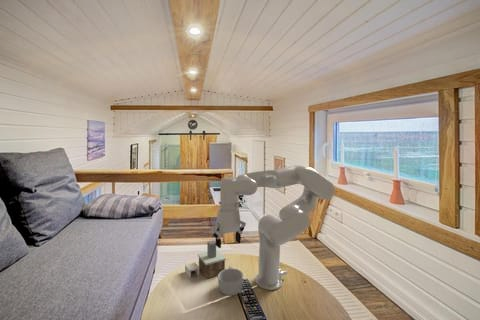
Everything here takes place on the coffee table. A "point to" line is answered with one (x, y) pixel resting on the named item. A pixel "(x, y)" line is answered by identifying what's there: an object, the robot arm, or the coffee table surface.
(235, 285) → the teacup
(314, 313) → the coffee table surface
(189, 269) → the matte white cube
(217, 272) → the brown wooden box
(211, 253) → the lid
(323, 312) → the coffee table surface
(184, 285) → the coffee table surface
